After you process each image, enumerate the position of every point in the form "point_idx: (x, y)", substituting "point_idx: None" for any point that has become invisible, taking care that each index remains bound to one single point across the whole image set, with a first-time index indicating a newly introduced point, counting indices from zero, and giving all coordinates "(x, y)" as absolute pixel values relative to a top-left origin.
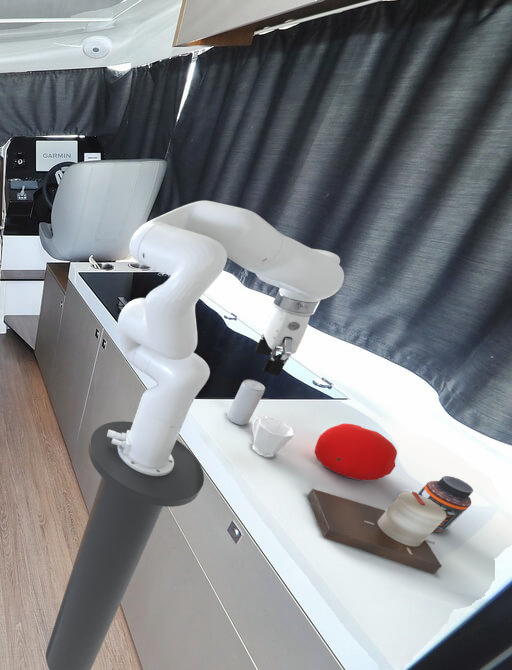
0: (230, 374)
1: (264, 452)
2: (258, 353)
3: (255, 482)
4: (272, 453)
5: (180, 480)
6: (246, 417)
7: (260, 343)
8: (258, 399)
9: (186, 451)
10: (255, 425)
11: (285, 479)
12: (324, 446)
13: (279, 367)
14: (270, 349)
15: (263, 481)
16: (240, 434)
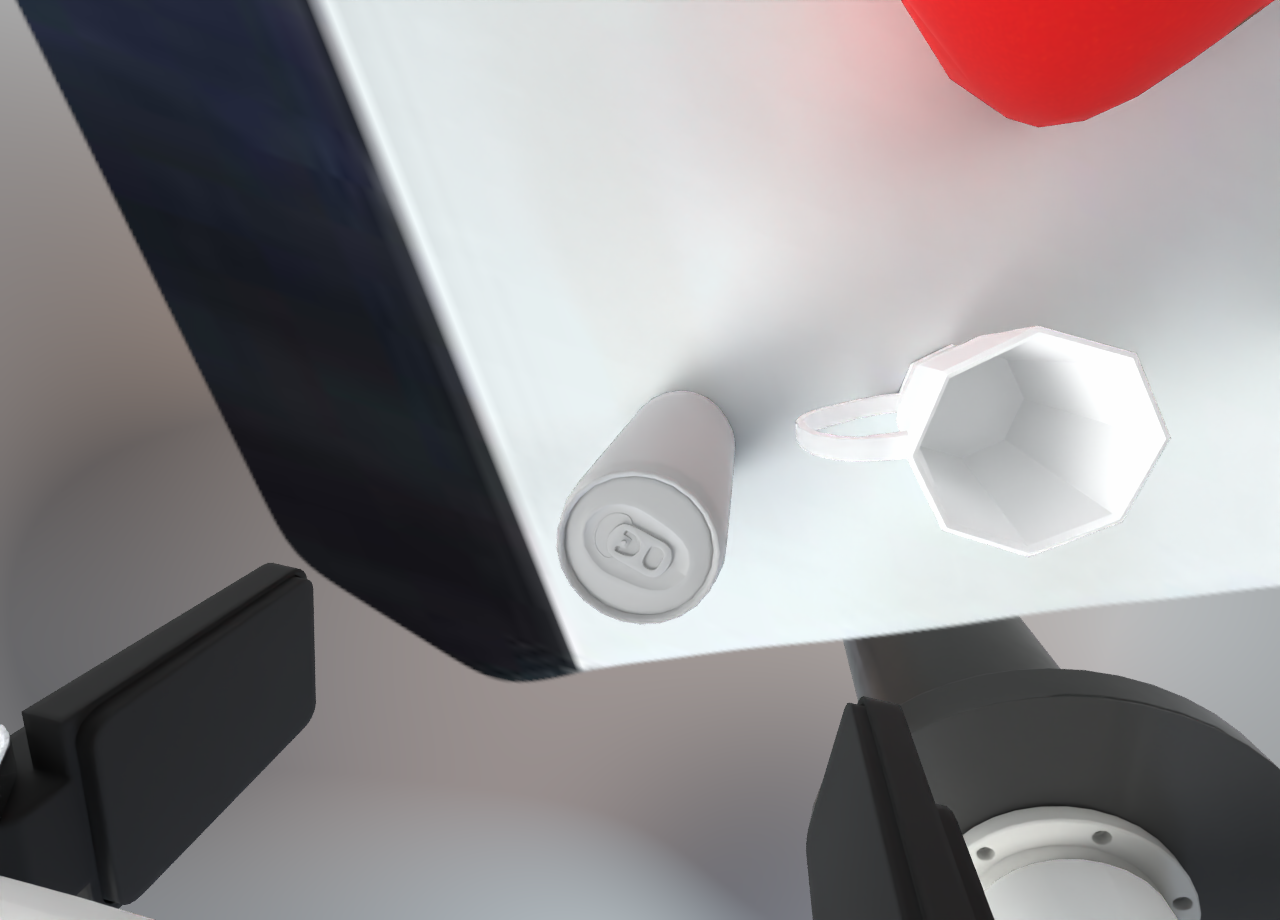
0: (198, 317)
1: (1013, 422)
2: (313, 686)
3: (1244, 533)
4: (1018, 381)
5: (1201, 809)
6: (732, 448)
7: (174, 852)
8: (720, 478)
9: (979, 725)
10: (808, 423)
11: (1196, 360)
12: (1130, 93)
13: (989, 917)
14: (230, 657)
15: (1230, 489)
16: (819, 465)
